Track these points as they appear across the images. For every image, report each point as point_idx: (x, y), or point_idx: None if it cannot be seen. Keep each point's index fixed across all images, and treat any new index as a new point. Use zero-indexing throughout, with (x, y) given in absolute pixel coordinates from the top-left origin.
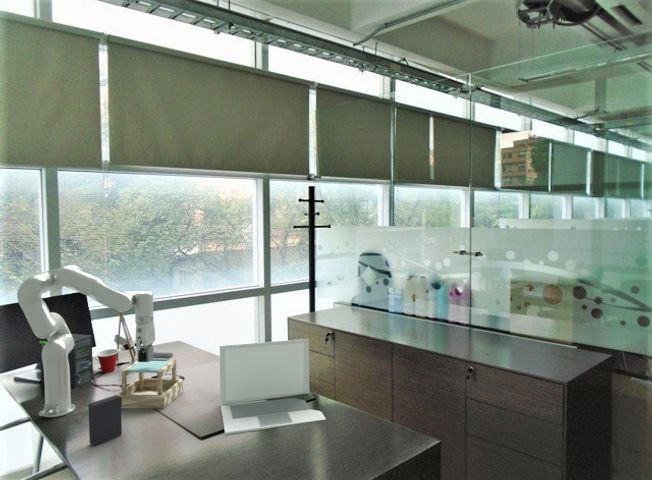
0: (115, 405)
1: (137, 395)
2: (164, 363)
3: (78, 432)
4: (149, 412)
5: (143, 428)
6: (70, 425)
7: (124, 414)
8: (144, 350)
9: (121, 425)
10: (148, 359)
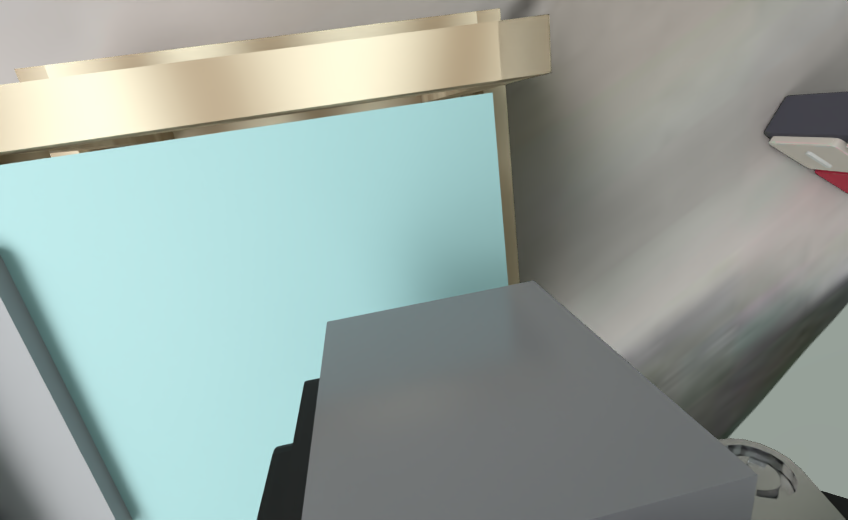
0: None
1: (507, 242)
2: (149, 195)
3: (744, 315)
4: (513, 116)
5: (720, 15)
6: (679, 395)
7: (554, 246)
8: (796, 497)
9: (836, 92)
10: (556, 302)
